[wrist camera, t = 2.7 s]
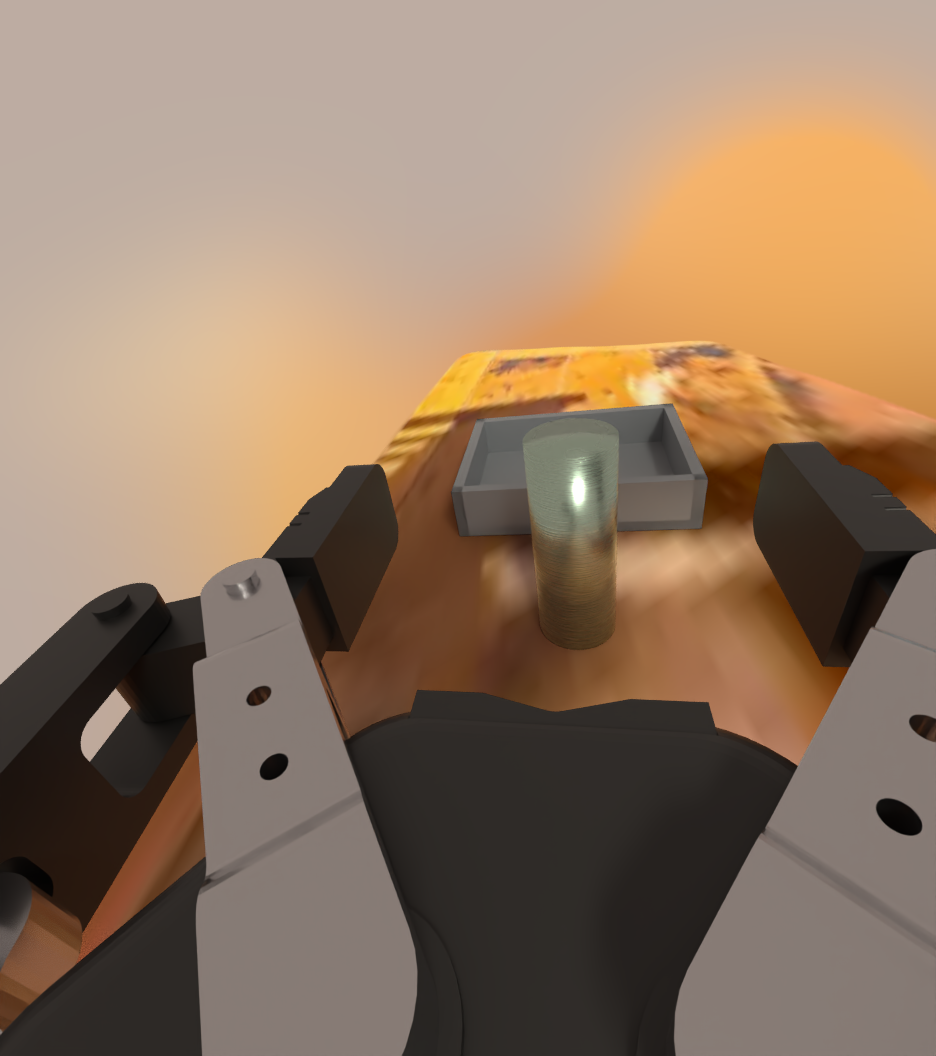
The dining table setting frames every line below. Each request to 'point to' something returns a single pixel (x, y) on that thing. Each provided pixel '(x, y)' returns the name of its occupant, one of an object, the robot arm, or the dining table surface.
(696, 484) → the tote
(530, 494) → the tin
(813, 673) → the dining table surface
